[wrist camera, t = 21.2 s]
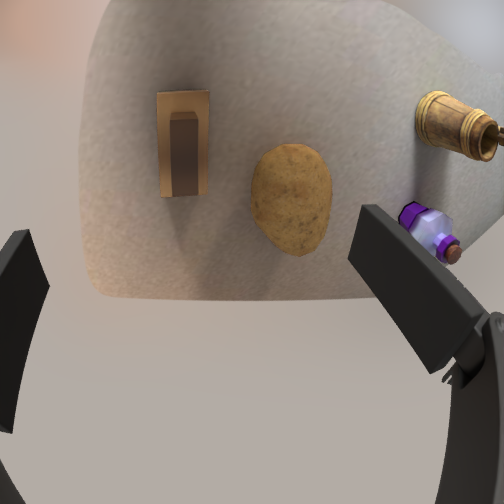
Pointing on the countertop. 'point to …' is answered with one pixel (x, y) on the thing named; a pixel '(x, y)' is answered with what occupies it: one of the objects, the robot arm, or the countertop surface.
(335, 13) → the countertop surface
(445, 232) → the potion bottle
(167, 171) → the brush
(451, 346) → the robot arm
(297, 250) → the potato
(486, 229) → the countertop surface
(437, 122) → the wooden mug
